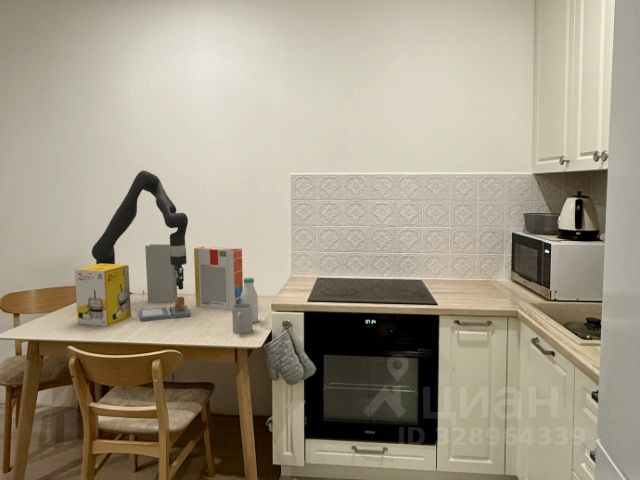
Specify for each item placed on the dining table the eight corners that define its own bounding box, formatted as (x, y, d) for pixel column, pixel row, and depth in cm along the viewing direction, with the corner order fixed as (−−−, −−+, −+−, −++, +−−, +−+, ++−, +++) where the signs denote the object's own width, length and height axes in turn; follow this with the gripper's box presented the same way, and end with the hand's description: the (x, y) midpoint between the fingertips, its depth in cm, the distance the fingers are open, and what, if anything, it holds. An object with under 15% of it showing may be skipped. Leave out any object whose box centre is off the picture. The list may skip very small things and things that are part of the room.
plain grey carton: (177, 299, 278) (175, 244, 275) (173, 302, 273) (171, 246, 269) (152, 299, 280) (149, 244, 276) (147, 301, 274) (145, 245, 270)
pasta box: (243, 306, 263) (241, 248, 259) (235, 310, 256) (233, 250, 252) (204, 302, 271) (203, 246, 268) (196, 306, 264) (193, 248, 260)
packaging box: (131, 316, 245) (128, 265, 242) (107, 326, 229) (104, 271, 226) (103, 314, 250) (100, 263, 246) (77, 323, 234) (74, 269, 231)
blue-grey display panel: (140, 321, 236) (139, 317, 236) (138, 313, 251) (138, 309, 251) (171, 318, 241) (171, 314, 241) (168, 310, 256) (168, 306, 256)
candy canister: (260, 319, 239) (260, 277, 237) (253, 324, 232) (252, 280, 229) (245, 318, 242) (245, 276, 239) (238, 322, 234) (237, 279, 232)
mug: (235, 327, 227) (234, 303, 225) (254, 328, 226) (254, 303, 225) (228, 336, 215) (227, 310, 213) (248, 336, 214) (248, 310, 213)
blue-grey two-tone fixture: (173, 317, 242) (172, 302, 241) (170, 309, 257) (169, 294, 256) (190, 316, 245) (190, 300, 244) (186, 308, 259) (186, 293, 258)
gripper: (168, 253, 252) (170, 285, 255) (171, 257, 239) (173, 291, 241) (184, 251, 255) (185, 284, 257) (188, 256, 242) (189, 289, 244)
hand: (179, 287), depth 249 cm, fingers open, 8 cm apart
